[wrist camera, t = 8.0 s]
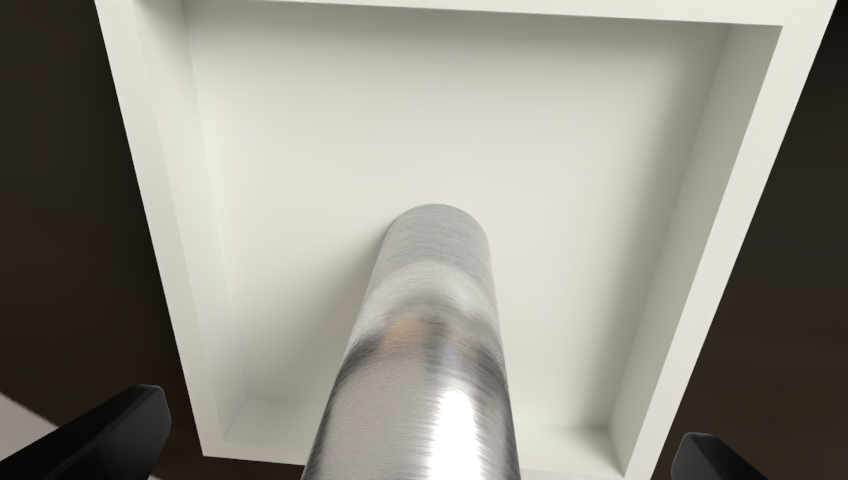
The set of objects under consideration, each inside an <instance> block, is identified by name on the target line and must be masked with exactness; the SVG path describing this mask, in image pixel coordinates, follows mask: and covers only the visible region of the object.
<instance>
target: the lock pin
mask: <svg viewBox="0 0 848 480" xmlns="http://www.w3.org/2000/svg"><path fill="white" fill-rule="evenodd" d="M301 480H521V476H520V468H519V461H518V454H517V446H516V439H515V431H514V424H513V417H512V409H511V402H510V395H509V387H508V380H507V373H506V365H505V358H504V351H503V343H502V336H501V328H500V321H499V314H498V306H497V299H496V292H495V284H494V277H493V270H492V262H491V255H490V247H489V242H488V239H487V236H486V234H485V232H484V230H483V228H482V227H481V226H480V224H479V223H478V222H477V221H476V220H475V219H474V218H473V217H472V216H471V215H469V214H468V213H466V212H465V211H463V210H461V209H459V208H456V207H454V206H450V205H445V204H424V205H420V206H416V207H414V208H411V209H409V210H407V211H405V212H404V213H402V214H401V215H400V216H398V217H397V218H396V219H395V220H394V221H393V223H392V224H391V225H390V227H389V228H388V230H387V232H386V235H385V237H384V240H383V243H382V246H381V249H380V252H379V254H378V257H377V260H376V263H375V266H374V269H373V272H372V275H371V278H370V280H369V283H368V286H367V289H366V292H365V295H364V298H363V301H362V304H361V307H360V309H359V312H358V315H357V318H356V321H355V324H354V327H353V330H352V333H351V336H350V338H349V341H348V344H347V347H346V350H345V353H344V356H343V359H342V362H341V364H340V367H339V370H338V373H337V376H336V379H335V382H334V385H333V388H332V391H331V393H330V396H329V399H328V402H327V405H326V408H325V411H324V414H323V417H322V419H321V422H320V425H319V428H318V431H317V434H316V437H315V440H314V443H313V446H312V448H311V451H310V454H309V457H308V460H307V463H306V466H305V469H304V472H303V474H302V477H301Z"/></svg>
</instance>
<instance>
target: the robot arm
mask: <svg viewBox="0 0 848 480" xmlns="http://www.w3.org/2000/svg"><path fill="white" fill-rule="evenodd" d="M170 429H171V416H170V412H169V409H168V405H167V401H166V398H165V394H164V391H163V389H162V388H161V387H160V386H155V385H144V384H138V385H134V386H132V387H130V388H128V389H126V390H125V391H123V392H121V393H119V394H118V395H116V396H114V397H112V398H111V399H109V400H107V401H105V402H104V403H102V404H100V405H98V406H97V407H95V408H93V409H91V410H90V411H88V412H86V413H84V414H83V415H81V416H79V417H77V418H75V419H74V420H72V421H70V422H68V423H67V424H65V425H63V426H61V427H60V428H58V429H56V430H54V431H53V432H51V433H49V434H47V435H46V436H44V437H42V438H41V439H39V440H37V441H35V442H33V443H32V444H30V445H28V446H26V447H25V448H23V449H21V450H19V451H17V452H16V453H14V454H12V455H11V456H9V457H7V458H5V459H4V460H2V461H0V480H148V478H149V475H150V473H151V471H152V469H153V467H154V465H155V463H156V460H157V458H158V456H159V454H160V452H161V450H162V448H163V445H164V443H165V441H166V439H167V437H168V435H169V432H170ZM671 475H672V480H769V479H768V478H766V477H765V476H764V475H763V474H762V473H760V472H759V471H758V470H757V469H755V468H754V467H753V466H752V465H751V464H749V463H748V462H747V461H746V460H745V459H743V458H742V457H741V456H740V455H738V454H737V453H736V452H735V451H734V450H732V449H731V448H730V447H729V446H727V445H726V444H725V443H724V442H723V441H721V440H720V439H719V438H717V437H716V436H714V435H711V434H705V433H693V432H690V433H687V434H686V435H684V437H683V439H682V441H681V444H680V446H679V449H678V451H677V454H676V456H675V459H674V461H673V464H672V469H671Z"/></svg>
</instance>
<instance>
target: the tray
mask: <svg viewBox="0 0 848 480" xmlns="http://www.w3.org/2000/svg"><path fill="white" fill-rule="evenodd" d="M836 2H837V0H95V4H96V8H97V12H98V16H99V20H100V25H101V29H102V33H103V37H104V41H105V46H106V50H107V54H108V58H109V62H110V66H111V71H112V75H113V79H114V83H115V87H116V92H117V96H118V100H119V104H120V108H121V112H122V117H123V121H124V125H125V129H126V133H127V138H128V142H129V146H130V150H131V154H132V159H133V163H134V167H135V171H136V175H137V179H138V184H139V188H140V192H141V196H142V200H143V205H144V209H145V213H146V217H147V221H148V225H149V230H150V234H151V238H152V242H153V246H154V251H155V255H156V259H157V263H158V267H159V272H160V276H161V280H162V284H163V288H164V292H165V297H166V301H167V305H168V309H169V313H170V318H171V322H172V326H173V330H174V334H175V338H176V343H177V347H178V351H179V355H180V359H181V364H182V368H183V372H184V376H185V380H186V385H187V389H188V393H189V397H190V401H191V405H192V410H193V414H194V418H195V422H196V426H197V431H198V435H199V439H200V443H201V447H202V451H203V456H212V457H223V458H234V459H244V460H255V461H266V462H276V463H287V464H298V465H306V463H307V460H308V457H309V454H310V451H311V448H312V446H313V443H314V440H315V437H316V434H317V431H318V428H319V425H320V422H321V419H322V417H323V414H324V411H325V408H326V405H327V402H328V399H329V396H330V393H331V391H332V388H333V385H334V382H335V379H336V376H337V373H338V370H339V367H340V364H341V362H342V359H343V356H344V353H345V350H346V347H347V344H348V341H349V338H350V336H351V333H352V330H353V327H354V324H355V321H356V318H357V315H358V312H359V309H360V307H361V304H362V301H363V298H364V295H365V292H366V289H367V286H368V283H369V280H370V278H371V275H372V272H373V269H374V266H375V263H376V260H377V257H378V254H379V252H380V249H381V246H382V243H383V240H384V237H385V235H386V232H387V230H388V228H389V227H390V225H391V224H392V223H393V221H394V220H395V219H396V218H397V217H398V216H400V215H401V214H402V213H404V212H405V211H407V210H409V209H411V208H414V207H416V206H420V205H424V204H445V205H450V206H454V207H456V208H459V209H461V210H463V211H465V212H466V213H468V214H469V215H471V216H472V217H473V218H474V219H475V220H476V221H477V222H478V223H479V224H480V226H481V227H482V228H483V230H484V232H485V234H486V236H487V239H488V242H489V247H490V255H491V262H492V270H493V277H494V284H495V292H496V299H497V306H498V314H499V321H500V328H501V336H502V343H503V351H504V358H505V365H506V373H507V380H508V387H509V395H510V402H511V409H512V417H513V424H514V431H515V439H516V446H517V454H518V461H519V468H520V476H521V480H650V478H651V476H652V473H653V471H654V468H655V466H656V463H657V460H658V458H659V455H660V453H661V450H662V448H663V445H664V442H665V440H666V437H667V435H668V432H669V430H670V427H671V425H672V422H673V419H674V417H675V414H676V412H677V409H678V407H679V404H680V401H681V399H682V396H683V394H684V391H685V389H686V386H687V384H688V381H689V378H690V376H691V373H692V371H693V368H694V366H695V363H696V360H697V358H698V355H699V353H700V350H701V348H702V345H703V343H704V340H705V337H706V335H707V332H708V330H709V327H710V325H711V322H712V319H713V317H714V314H715V312H716V309H717V307H718V304H719V302H720V299H721V296H722V294H723V291H724V289H725V286H726V284H727V281H728V278H729V276H730V273H731V271H732V268H733V266H734V263H735V261H736V258H737V255H738V253H739V250H740V248H741V245H742V243H743V240H744V237H745V235H746V232H747V230H748V227H749V225H750V222H751V220H752V217H753V214H754V212H755V209H756V207H757V204H758V202H759V199H760V196H761V194H762V191H763V189H764V186H765V184H766V181H767V179H768V176H769V173H770V171H771V168H772V166H773V163H774V161H775V158H776V155H777V153H778V150H779V148H780V145H781V143H782V140H783V138H784V135H785V132H786V130H787V127H788V125H789V122H790V120H791V117H792V114H793V112H794V109H795V107H796V104H797V102H798V99H799V97H800V94H801V91H802V89H803V86H804V84H805V81H806V79H807V76H808V73H809V71H810V68H811V66H812V63H813V61H814V58H815V56H816V53H817V50H818V48H819V45H820V43H821V40H822V38H823V35H824V33H825V30H826V27H827V25H828V22H829V20H830V17H831V15H832V12H833V9H834V7H835V4H836Z"/></svg>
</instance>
